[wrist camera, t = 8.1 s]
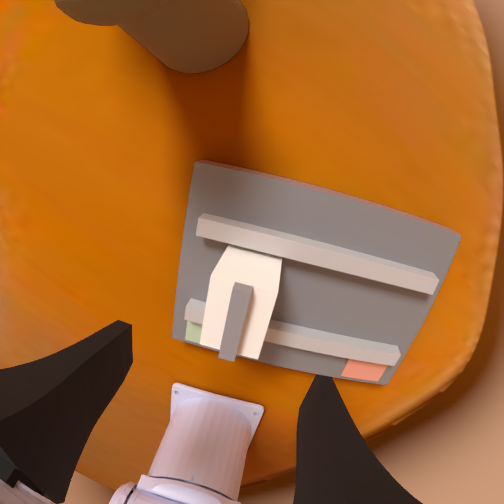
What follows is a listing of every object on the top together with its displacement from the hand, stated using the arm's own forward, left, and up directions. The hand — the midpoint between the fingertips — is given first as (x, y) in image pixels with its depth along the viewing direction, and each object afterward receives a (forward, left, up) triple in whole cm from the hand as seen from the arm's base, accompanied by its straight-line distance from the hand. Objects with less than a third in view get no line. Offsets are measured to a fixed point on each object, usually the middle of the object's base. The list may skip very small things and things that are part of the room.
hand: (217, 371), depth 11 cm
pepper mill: (+14, +6, -10) cm, 18 cm away
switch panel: (0, -4, -9) cm, 10 cm away
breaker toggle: (0, 0, -7) cm, 7 cm away
